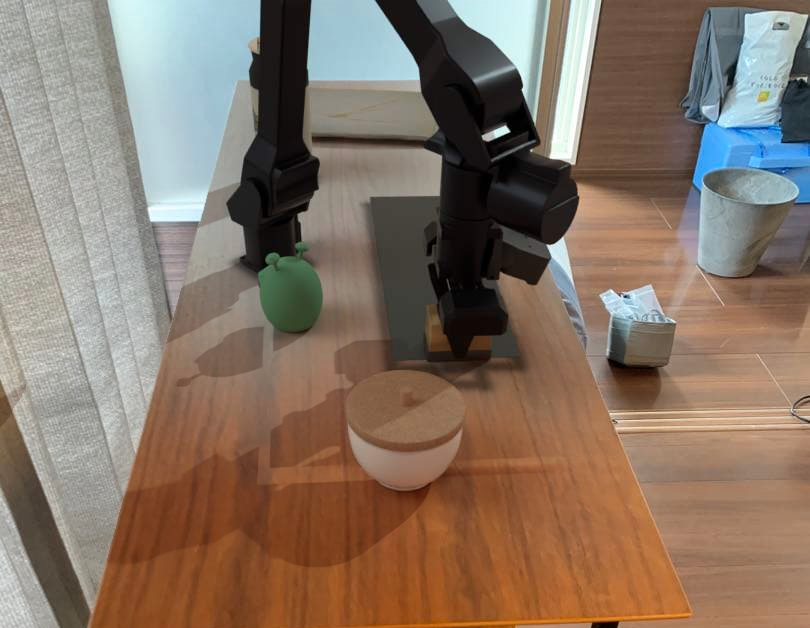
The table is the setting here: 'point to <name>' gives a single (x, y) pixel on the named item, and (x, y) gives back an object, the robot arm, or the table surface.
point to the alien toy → (290, 292)
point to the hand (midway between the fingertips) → (456, 346)
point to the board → (414, 275)
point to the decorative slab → (370, 114)
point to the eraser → (439, 344)
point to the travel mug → (254, 88)
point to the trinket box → (405, 427)
